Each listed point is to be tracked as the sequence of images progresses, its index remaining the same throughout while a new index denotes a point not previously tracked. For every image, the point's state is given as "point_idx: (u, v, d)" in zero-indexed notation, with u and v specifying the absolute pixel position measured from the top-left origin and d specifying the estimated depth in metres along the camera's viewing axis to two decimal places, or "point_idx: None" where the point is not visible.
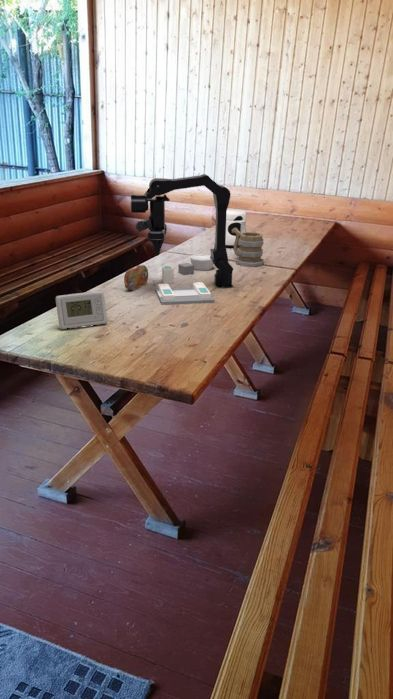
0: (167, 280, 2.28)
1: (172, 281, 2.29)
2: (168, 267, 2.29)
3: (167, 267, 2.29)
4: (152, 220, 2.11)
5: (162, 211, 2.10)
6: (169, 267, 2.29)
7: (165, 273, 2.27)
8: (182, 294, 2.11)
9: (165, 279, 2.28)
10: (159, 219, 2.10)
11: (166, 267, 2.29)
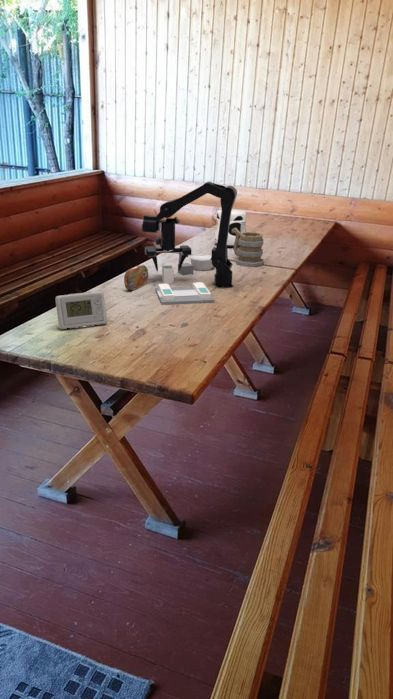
0: (167, 280, 2.28)
1: (172, 281, 2.29)
2: (168, 267, 2.29)
3: (167, 267, 2.29)
4: None
5: (171, 232, 2.21)
6: (169, 267, 2.29)
7: (165, 273, 2.27)
8: (182, 294, 2.11)
9: (165, 279, 2.28)
10: (162, 239, 2.23)
11: (166, 267, 2.29)
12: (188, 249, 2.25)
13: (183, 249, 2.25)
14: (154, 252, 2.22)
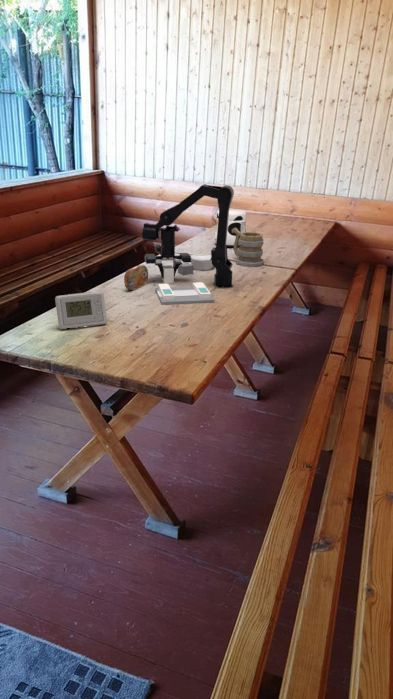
0: (167, 280, 2.28)
1: (172, 281, 2.29)
2: (168, 267, 2.29)
3: (167, 267, 2.29)
4: None
5: (171, 240, 2.22)
6: (169, 267, 2.29)
7: (165, 273, 2.27)
8: (182, 294, 2.11)
9: (165, 279, 2.28)
10: (161, 247, 2.24)
11: (166, 267, 2.29)
12: (188, 257, 2.26)
13: (183, 257, 2.26)
14: (154, 260, 2.24)
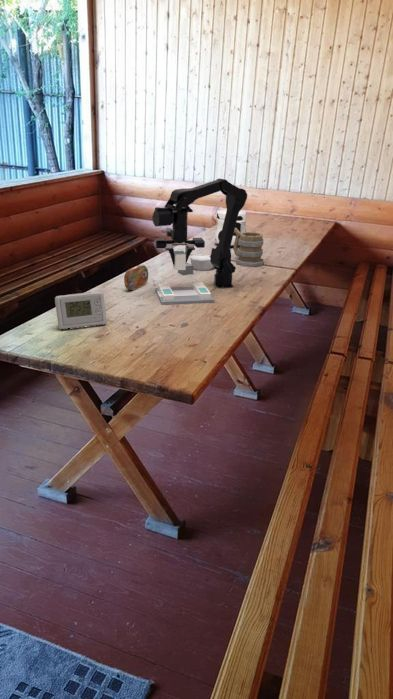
0: (178, 266, 2.11)
1: (184, 268, 2.11)
2: (180, 252, 2.11)
3: (179, 252, 2.11)
4: None
5: (186, 222, 2.06)
6: (181, 252, 2.11)
7: (176, 259, 2.09)
8: (182, 294, 2.11)
9: (176, 265, 2.10)
10: (173, 230, 2.07)
11: (178, 252, 2.11)
12: (201, 241, 2.09)
13: (196, 241, 2.08)
14: (164, 244, 2.06)
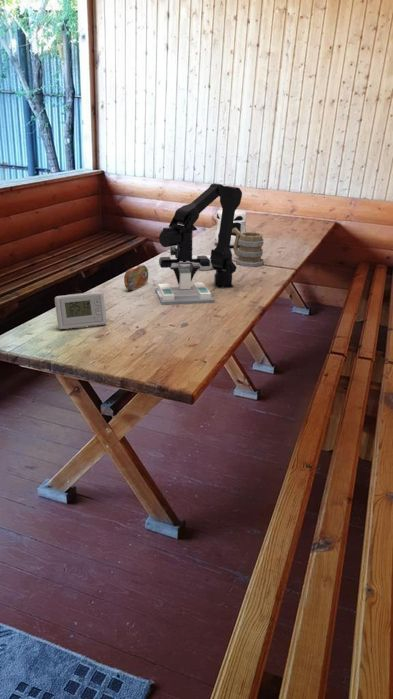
0: (184, 285, 2.09)
1: (189, 286, 2.09)
2: (185, 271, 2.09)
3: (184, 271, 2.09)
4: None
5: None
6: (186, 271, 2.09)
7: (181, 278, 2.07)
8: (182, 294, 2.11)
9: (181, 284, 2.08)
10: (178, 249, 2.04)
11: (182, 271, 2.09)
12: (206, 260, 2.07)
13: (201, 260, 2.06)
14: (169, 263, 2.04)
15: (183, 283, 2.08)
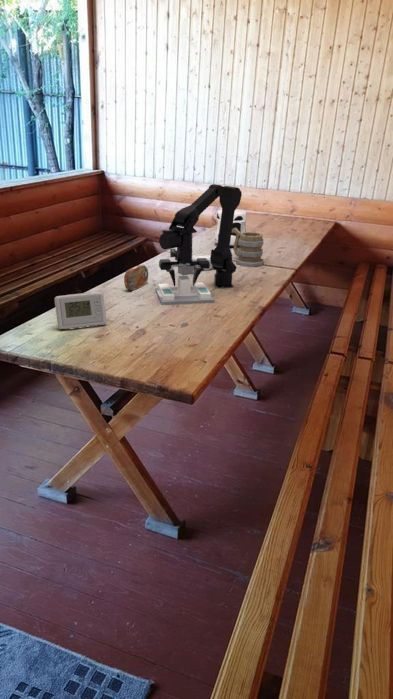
0: (183, 292, 2.09)
1: (189, 293, 2.10)
2: (184, 278, 2.10)
3: (183, 278, 2.10)
4: None
5: None
6: (185, 278, 2.10)
7: (181, 284, 2.08)
8: None
9: (181, 291, 2.09)
10: (178, 251, 2.05)
11: (182, 278, 2.10)
12: (206, 262, 2.07)
13: (201, 262, 2.07)
14: (169, 266, 2.04)
15: (183, 289, 2.09)
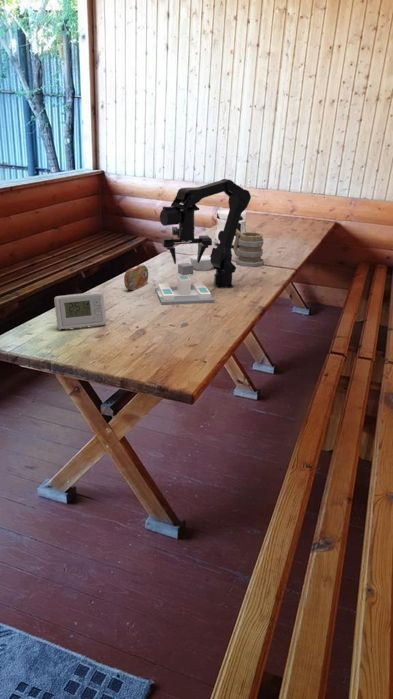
0: (183, 292, 2.09)
1: (189, 293, 2.10)
2: (184, 278, 2.10)
3: (183, 278, 2.10)
4: None
5: (193, 221, 2.06)
6: (185, 278, 2.10)
7: (181, 284, 2.08)
8: None
9: (181, 291, 2.09)
10: (180, 229, 2.06)
11: (182, 278, 2.10)
12: (208, 239, 2.09)
13: (203, 239, 2.08)
14: (172, 243, 2.06)
15: (183, 289, 2.09)
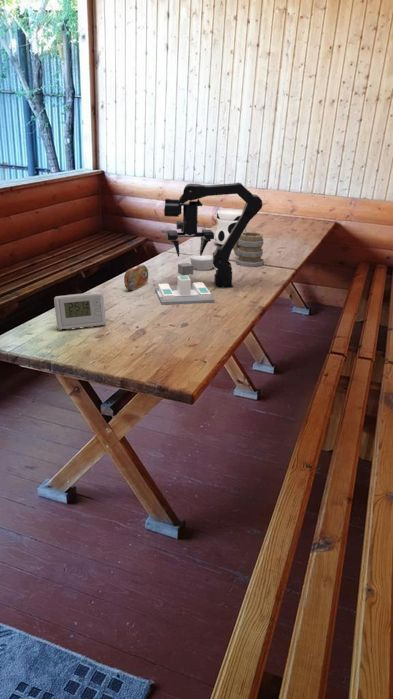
0: (183, 292, 2.09)
1: (189, 293, 2.10)
2: (184, 278, 2.10)
3: (183, 278, 2.10)
4: None
5: (194, 216, 2.14)
6: (185, 278, 2.10)
7: (181, 284, 2.08)
8: None
9: (181, 291, 2.09)
10: (184, 222, 2.16)
11: (182, 278, 2.10)
12: (211, 233, 2.18)
13: (206, 233, 2.18)
14: (176, 236, 2.15)
15: (183, 289, 2.09)
